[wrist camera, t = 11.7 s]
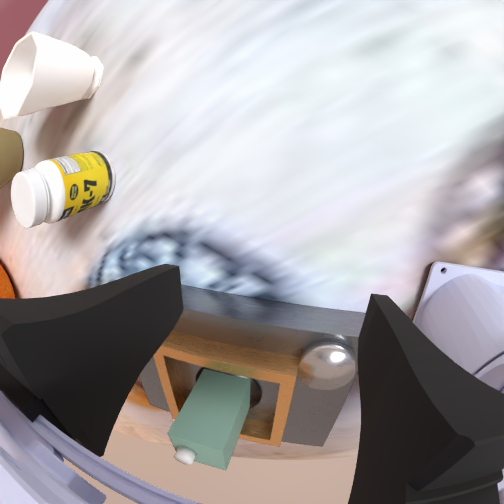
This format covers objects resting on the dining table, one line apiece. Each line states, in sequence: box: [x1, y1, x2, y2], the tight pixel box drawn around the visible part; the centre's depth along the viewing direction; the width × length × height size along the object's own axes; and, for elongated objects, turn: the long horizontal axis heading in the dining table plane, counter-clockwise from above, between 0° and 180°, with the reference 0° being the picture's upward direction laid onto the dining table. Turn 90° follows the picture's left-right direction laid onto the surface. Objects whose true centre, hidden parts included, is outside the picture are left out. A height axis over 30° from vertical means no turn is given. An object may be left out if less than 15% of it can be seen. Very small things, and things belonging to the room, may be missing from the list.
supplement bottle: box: [11, 151, 115, 228], centre depth 17 cm, size 5×5×8 cm
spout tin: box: [168, 369, 250, 470], centre depth 18 cm, size 4×4×8 cm
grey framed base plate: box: [139, 285, 366, 447], centre depth 22 cm, size 20×16×5 cm
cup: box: [0, 31, 103, 120], centre depth 14 cm, size 7×10×8 cm
